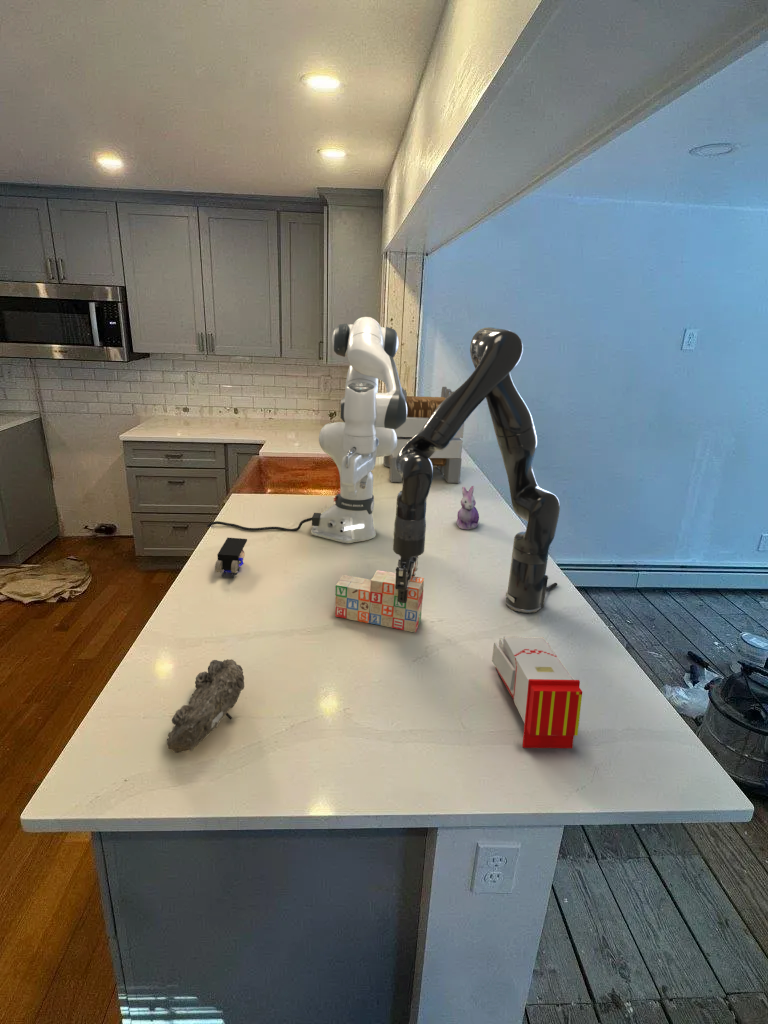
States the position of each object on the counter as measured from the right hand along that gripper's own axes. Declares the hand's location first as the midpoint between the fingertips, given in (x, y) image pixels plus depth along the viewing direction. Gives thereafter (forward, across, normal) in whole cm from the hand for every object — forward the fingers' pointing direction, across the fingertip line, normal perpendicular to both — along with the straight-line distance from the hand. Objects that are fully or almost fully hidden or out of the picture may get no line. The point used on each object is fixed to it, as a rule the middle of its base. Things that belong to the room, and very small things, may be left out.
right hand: (405, 595), depth 140 cm
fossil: (+8, -46, +26) cm, 53 cm away
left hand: (-18, +21, +20) cm, 34 cm away
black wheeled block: (+8, +12, +55) cm, 57 cm away
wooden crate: (+8, +138, +27) cm, 141 cm away
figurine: (+8, +75, -5) cm, 76 cm away
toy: (+8, -21, -31) cm, 38 cm away
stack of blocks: (+8, 0, +7) cm, 11 cm away
